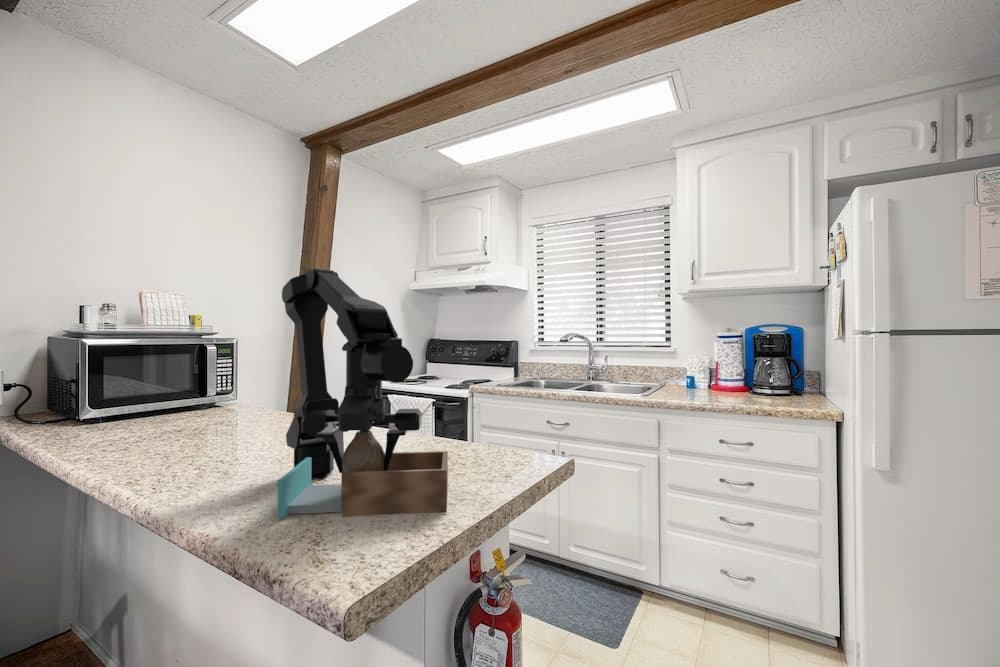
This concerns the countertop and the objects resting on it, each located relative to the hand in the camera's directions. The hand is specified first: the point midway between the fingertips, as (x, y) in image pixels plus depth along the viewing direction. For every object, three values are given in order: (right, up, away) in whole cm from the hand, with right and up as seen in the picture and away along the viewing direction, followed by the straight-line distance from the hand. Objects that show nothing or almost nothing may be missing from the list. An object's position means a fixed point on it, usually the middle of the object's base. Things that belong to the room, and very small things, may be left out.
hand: (363, 471), depth 73 cm
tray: (-3, -5, 0) cm, 6 cm away
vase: (0, -2, 0) cm, 2 cm away
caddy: (+6, -5, +1) cm, 8 cm away
